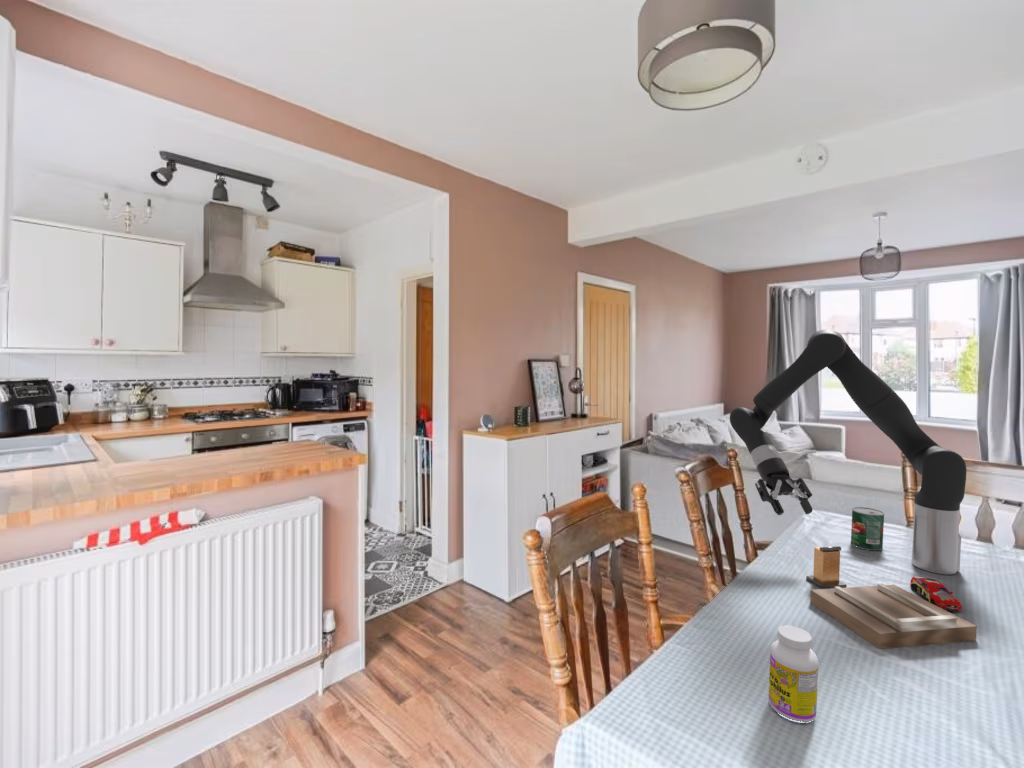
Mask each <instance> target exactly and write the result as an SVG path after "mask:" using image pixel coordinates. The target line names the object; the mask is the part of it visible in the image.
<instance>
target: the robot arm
mask: <svg viewBox="0 0 1024 768" xmlns="http://www.w3.org/2000/svg"><path fill="white" fill-rule="evenodd" d="M826 368H828V369H829V370H830V371H831V373H833V374H834V375H835V376H836V377H837V379H838V380H839V382H840V383H841V385H842V386H843V388H844V390H845V391H846V392H847V394H848V396H849V397H850V398H851V400H852V401H853V402H854V403H855V405H856V406H857V407H858V408H859V409H860V410H861V412H863V414H864V415H865V416H866V417H867V418H868V419H869V420H870V421H871V422H872V423H873V424H874V425H875V426H876V427H877V428H878V429H879V430H880V431H881V432H882V433H883V434H884V435H886V436H887V437H888V438H889V439H890V440H891V441H892V442H893V443H894V445H896V446H897V447H898V449H899V450H900V451H901V453H902V454H903V456H904V457H905V458H906V459H907V461H908V463H909V464H910V465H911V467H912V468H913V469H914V470H915V471H916V472H917V474H919V475H920V476H921V483H920V484H921V485H920V489H919V491H916V492H915V493H914V505H913V525H912V526H913V528H912V529H913V531H912V549H911V564H912V565H913V566H915V567H916V568H918V569H920V570H923V571H925V572H930V573H933V574H939V575H948V576H949V575H955V574H957V572H960V571H961V567H960V566H961V550H962V549H961V548H962V547H961V546H962V537H961V536H960V535H959V534H960V533H959V531H960V510H961V504H962V502H963V501H964V498H965V491H966V483H967V464H966V462H965V460H964V458H963V457H962V456H961V455H960V454H959V453H957V452H955V451H953V450H951V449H948V448H945V447H943V446H940V445H939V444H938V443H937V442H936V441H934V440H933V439H932V438H931V437H930V436H929V435H927V433H925V432H924V431H923V429H921V427H920V425H919V424H918V423H917V422H916V419H915V417H914V415H913V414H912V411H911V410H910V408H909V407H908V405H907V404H906V403H905V401H904V399H902V398H901V396H900V395H898V394H897V392H896V391H895V390H894V389H893V388H892V387H891V386H889V384H887V383H886V382H885V381H884V380H883V379H882V378H881V377H880V376H879V375H877V373H875V372H874V371H873V370H872V369H871V368H870V367H868V366H867V365H866V364H864V362H863V361H862V360H861V359H860V358H859V357H858V356H857V354H856V353H855V352H854V351H853V349H852V348H851V347H850V346H849V344H848V343H847V341H846V340H845V338H844V337H843V336H842V334H841V333H839V332H838V331H836V330H833V329H821V330H817V331H815V332H814V333H813V334H812V335H811V336H810V337H809V339H808V342H807V344H806V347H805V348H804V350H803V351H802V352H801V353H800V355H799V356H798V357H797V358H796V359H795V361H794V362H793V363H792V364H791V365H790V366H788V367H787V368H786V369H785V370H784V371H782V372H781V373H779V374H778V375H777V376H775V377H774V378H773V379H772V380H770V381H769V382H768V383H767V384H766V385H765V386H763V388H762V389H761V390H759V392H758V393H756V394H755V395H754V397H753V399H752V401H753V404H754V405H755V406H754V408H752V410H751V409H749V408H746V407H735V408H733V410H732V411H730V414H729V422H730V425H731V427H732V429H733V431H734V432H735V433H736V434H737V435H738V436H739V438H740V440H742V441H743V443H744V444H745V446H746V449H747V450H748V453H749V454H750V456H751V460H752V462H753V464H754V466H755V469H756V470H757V472H758V474H759V476H760V478H759V479H758V480H757V481H756V482H755V484H754V485H755V488H756V491H757V493H758V494H759V497H760V499H761V501H762V502H767V503H769V504H770V505H771V507H772V509H773V512H775V514H776V515H777V516H782V515H783V514H784V512H785V511H784V508H783V506H782V505H781V503H780V500H779V499H778V496H789V497H790V498H793V499H796V501H798V502H799V504H800V506H801V508H802V510H803V512H804V514H805V515H810V514H811V513H812V512H813V507H812V505H811V502H810V501H809V499H810V498H811V497H813V494H812V492H811V491H810V489H809V487H808V485H807V484H806V482H805V481H804V479H803V478H802V477H799V478H798V479H793V478H791V476H790V470H789V469H788V467H787V465H786V464H785V462H784V459H783V458H782V456H781V454H780V453H779V451H778V450H777V449H776V447H775V446H774V444H773V442H772V440H771V438H770V436H769V435H768V434H767V433H766V432H765V431H763V430H762V429H763V428H764V427H765V425H767V424H766V423H767V422H768V421H769V419H770V418H771V416H772V415H773V413H774V411H775V410H776V409H778V408H779V407H780V406H781V405H782V404H783V403H784V402H786V401H787V400H788V399H789V398H790V397H791V396H792V395H793V394H794V393H795V392H796V391H798V389H799V388H801V386H803V385H804V384H805V383H806V382H807V381H808V380H810V379H811V378H813V377H814V376H815V375H816V374H818V373H819V372H821V371H822V370H824V369H826ZM768 489H769V491H768ZM793 490H794V492H793Z"/></svg>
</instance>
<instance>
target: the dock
mask: <svg viewBox="0 0 1024 768" xmlns="http://www.w3.org/2000/svg"><path fill="white" fill-rule="evenodd" d="M809 598H810V599H809V600H810V602H809V603H811V604H812V605H814V606H815V607H817V608H818V609H820V610H821V611H822V612H823V613H825V614H827V615H828V616H830V617H832V618H833V619H834V620H836V621H837V622H839V623H840V624H842V625H843V626H845V627H846V628H848V629H849V630H851V631H852V632H854V633H855V634H857V635H859V636H860V637H861V638H863V639H864V640H866V641H867V642H869V643H871V645H873V646H874V647H877V648H878V649H890V648H891V649H892V648H902V647H903V648H905V647H914V646H915V647H917V646H927V645H938V644H939V645H941V644H951V643H963V642H975V641H977V633H978V632H977V631H978V630H977V629H978V626H977V625H975V624H974V623H971V622H969V621H968V620H966V619H963V618H962V617H960V616H958V615H955V614H953V613H952V612H951V611H948V610H944V609H942V608H940V607H938V606H936V605H934V604H932V603H930V602H928V601H927V600H925V599H924V598H923V597H922V598H921V597H920V596H918V595H916V594H914V593H912V592H910V591H908V590H906V589H904V588H902V587H900V586H898V585H896V584H884V583H877V585H866V586H865V585H863V586H852V587H851V586H849V587H848V586H847V587H846V588H841V587H840V586H837V587H835V588H831V589H821V588H819V589H810V597H809Z"/></svg>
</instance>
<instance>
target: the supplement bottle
mask: <svg viewBox="0 0 1024 768" xmlns="http://www.w3.org/2000/svg"><path fill="white" fill-rule="evenodd" d="M777 639H778V640H777ZM777 639H776V640H775V641H773V642H772V644H770V649H769V650H770V652H769V673H768V674H769V677H768V679H769V681H768V683H769V684H768V703H770V704H769V705H771V706H770V707H771V709H772V708H773V709H774V710H775V711H776V712H777V713H779V714H781V715H783V716H785V717H787V718H789V719H792V720H796V721H800V722H801V721H802V722H809V721H812V720H813V721H815V719H816V717H817V709H818V707H817V705H818V703H817V702H818V680H819V678H818V676H819V674H818V673H819V660H818V659H819V658H818V657H817V655H816V653H815V651H814V650H812V649H811V648H812V646H813V645H812V643H813V642H812V641H813V640H812V639H813V638H812V635H811V633H809V632H808V631H806V630H805V629H803V628H800V627H797V626H794V625H787V624H785V625H781V626H779V627H778V628H777ZM773 709H772V710H773ZM774 710H773V711H774ZM775 711H774V712H775ZM776 712H775V713H776ZM777 713H776V714H777ZM813 721H812V722H813Z"/></svg>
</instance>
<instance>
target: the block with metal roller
mask: <svg viewBox="0 0 1024 768" xmlns="http://www.w3.org/2000/svg"><path fill="white" fill-rule="evenodd" d="M841 551H842V547H841V546H838V545H837V546H815V547H814V550H813V573H812V574H813V575H806V576H805V580H806V581H808V582H810V583H811V584H812V585H814V586H816V587H818V588H819V589H831V588H835V587H837V586H840V587H841V588H847V587H848V586H847V584H846V583H845V582H843V581H841V580H840V568H841V567H840V566H841V561H840V560H841Z"/></svg>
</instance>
